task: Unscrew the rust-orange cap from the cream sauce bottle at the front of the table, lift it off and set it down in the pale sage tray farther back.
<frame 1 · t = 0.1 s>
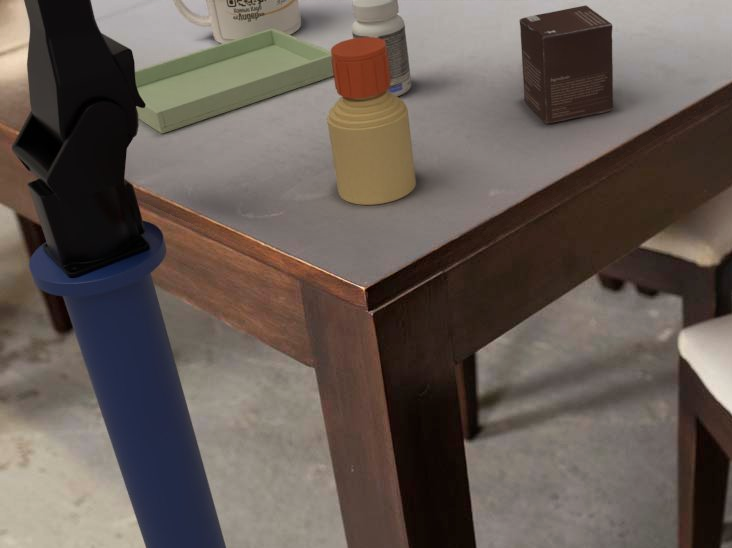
pill bottle: (386, 92, 102), on the table
mug: (248, 33, 122), on the table
bottle: (377, 187, 85), on the table
cap: (358, 51, 79), point 11 cm above the table, screwed on, not yet turned
box: (567, 109, 94), on the table
tray: (223, 86, 108), on the table
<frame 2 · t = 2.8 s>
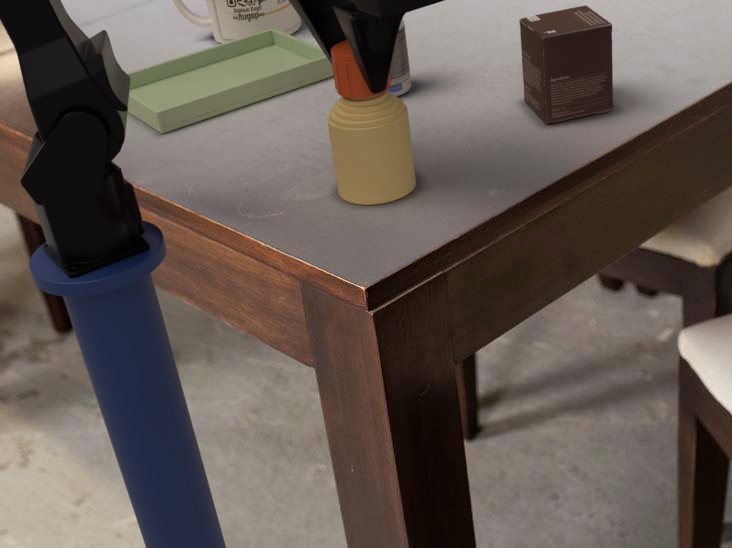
hand: (363, 85, 80), 8 cm above the table, tool pointing down, fingers closed on cap, 4 cm apart
cap: (358, 51, 79), point 11 cm above the table, screwed on, not yet turned, touching gripper
everything else where it was.
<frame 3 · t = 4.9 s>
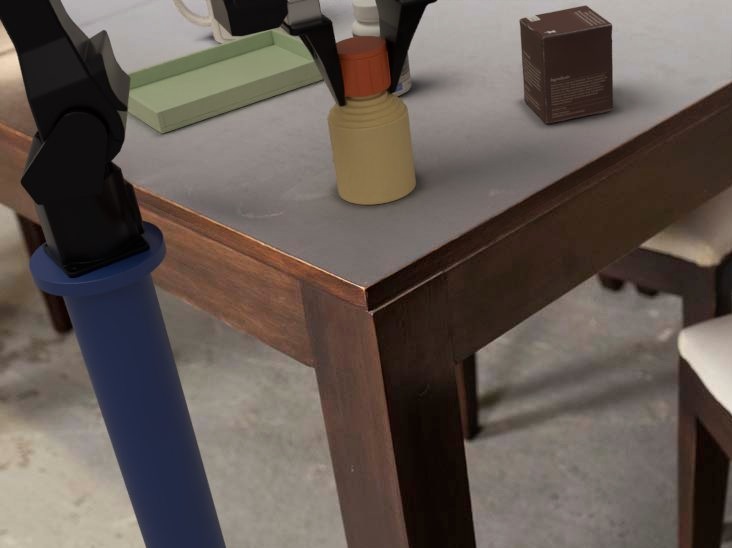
hand: (366, 98, 81), 7 cm above the table, tool pointing down, fingers closed on cap, 4 cm apart
bottle: (377, 187, 85), on the table, touching gripper
cap: (359, 50, 79), point 11 cm above the table, turned 78° so far, risen 0.1 cm, still on its thread, touching gripper
everything else where it was.
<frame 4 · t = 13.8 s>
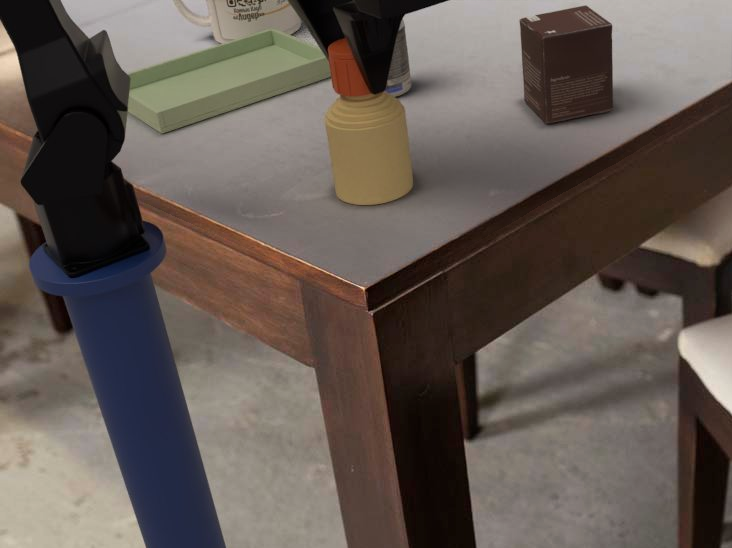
hand: (363, 86, 80), 8 cm above the table, tool pointing down, fingers closed on cap, 4 cm apart
bottle: (374, 187, 85), on the table
cap: (356, 49, 79), point 11 cm above the table, turned 155° so far, risen 0.2 cm, still on its thread, touching gripper
everything else where it was.
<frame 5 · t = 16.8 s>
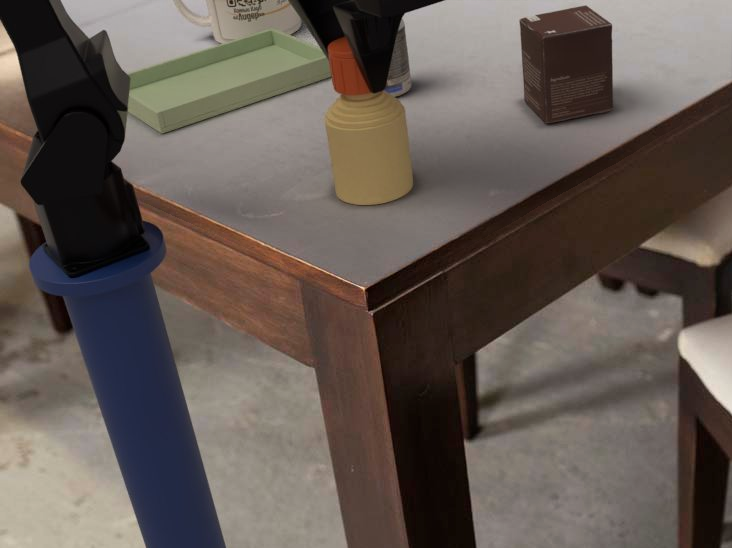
hand: (362, 85, 80), 8 cm above the table, tool pointing down, fingers closed on cap, 4 cm apart
cap: (355, 48, 79), point 11 cm above the table, turned 233° so far, risen 0.2 cm, still on its thread, touching gripper
everything else where it was.
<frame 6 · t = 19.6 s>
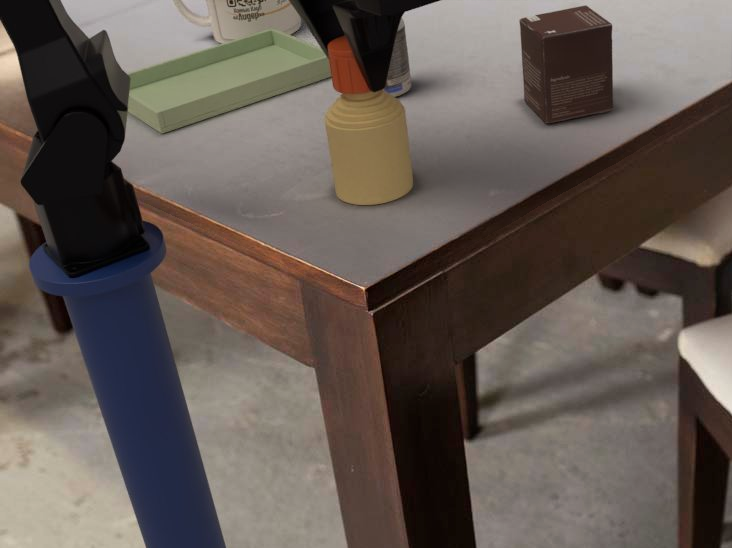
hand: (362, 83, 80), 8 cm above the table, tool pointing down, fingers closed on cap, 4 cm apart
cap: (355, 47, 79), point 11 cm above the table, turned 311° so far, risen 0.3 cm, still on its thread, touching gripper
everything else where it was.
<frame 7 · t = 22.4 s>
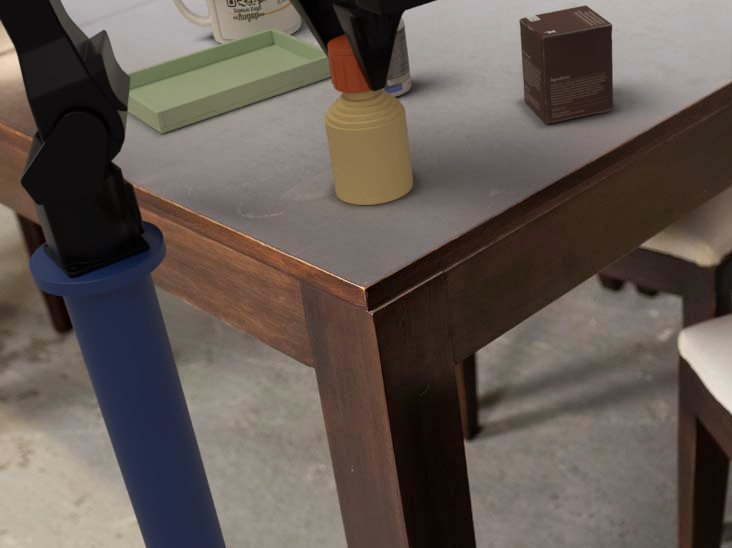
hand: (362, 82, 80), 8 cm above the table, tool pointing down, fingers closed on cap, 4 cm apart
cap: (355, 46, 79), point 11 cm above the table, turned 389° so far, risen 0.4 cm, still on its thread, touching gripper
everything else where it was.
when the fingers open (3 cm above the table, at t = 30.3 s): cap drops 2 cm, resting on tray.
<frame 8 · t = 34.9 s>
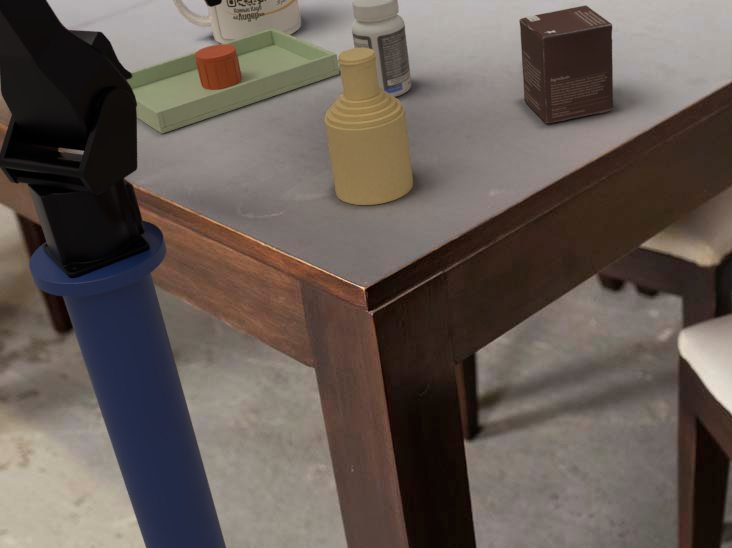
cap: (216, 55, 106), point 3 cm above the table, off its thread, touching tray
everything else where it was.
at the end: cap inside the target area on the tray (0.1 cm from its centre), point 3.2 cm above the tray's base; the gripper is holding nothing; bottle tilted 0° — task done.
